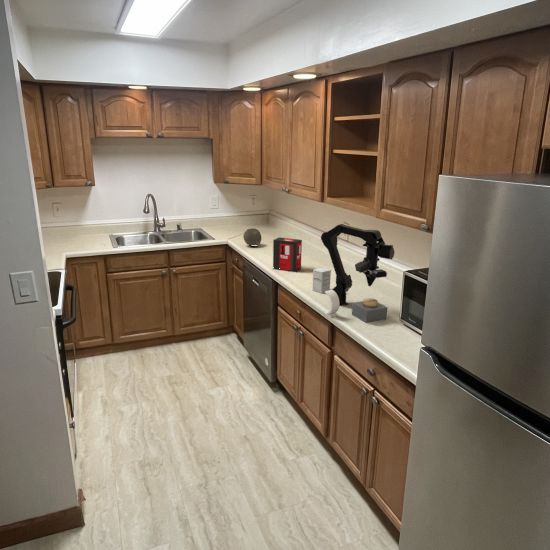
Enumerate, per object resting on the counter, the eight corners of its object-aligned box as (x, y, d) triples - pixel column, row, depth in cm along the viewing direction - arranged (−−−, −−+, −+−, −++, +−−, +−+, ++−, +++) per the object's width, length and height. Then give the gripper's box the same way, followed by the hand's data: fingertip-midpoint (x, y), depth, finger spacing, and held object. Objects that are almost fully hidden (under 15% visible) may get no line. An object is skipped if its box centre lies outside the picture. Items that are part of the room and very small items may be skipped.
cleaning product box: (273, 269, 299) (273, 239, 293) (278, 266, 306) (278, 237, 301) (295, 272, 292) (296, 242, 286) (300, 269, 300) (301, 239, 294)
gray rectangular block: (351, 314, 222) (352, 302, 220) (375, 310, 227) (376, 299, 226) (365, 323, 211) (366, 310, 210) (389, 318, 217) (391, 306, 215)
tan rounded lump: (359, 310, 220) (360, 299, 218) (371, 308, 223) (371, 297, 221) (367, 315, 214) (368, 304, 212) (379, 313, 217) (380, 302, 215)
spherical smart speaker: (254, 244, 370) (254, 226, 366) (264, 247, 360) (265, 228, 355) (240, 246, 361) (240, 228, 357) (250, 249, 351) (250, 230, 347)
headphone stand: (330, 312, 224) (332, 289, 221) (338, 316, 219) (340, 293, 216) (323, 314, 222) (324, 291, 218) (331, 318, 217) (332, 294, 214)
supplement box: (311, 290, 257) (312, 269, 254) (321, 287, 262) (321, 267, 258) (321, 293, 252) (322, 272, 248) (330, 291, 256) (331, 269, 253)
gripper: (347, 252, 225) (345, 282, 229) (369, 262, 208) (366, 293, 213) (366, 251, 229) (364, 280, 233) (388, 260, 212) (386, 291, 217)
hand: (369, 286), depth 224 cm, fingers closed
